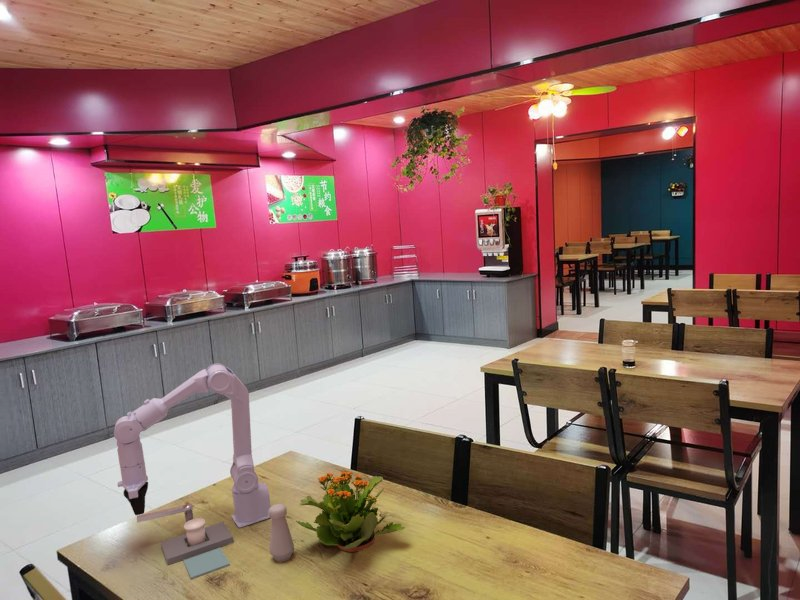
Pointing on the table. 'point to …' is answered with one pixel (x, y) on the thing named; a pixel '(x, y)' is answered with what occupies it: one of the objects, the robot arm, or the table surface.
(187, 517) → the clip post
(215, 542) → the socket block
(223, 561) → the mat
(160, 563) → the table surface
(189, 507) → the clip
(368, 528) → the potted flower
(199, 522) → the plug
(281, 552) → the salt shaker
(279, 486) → the table surface
